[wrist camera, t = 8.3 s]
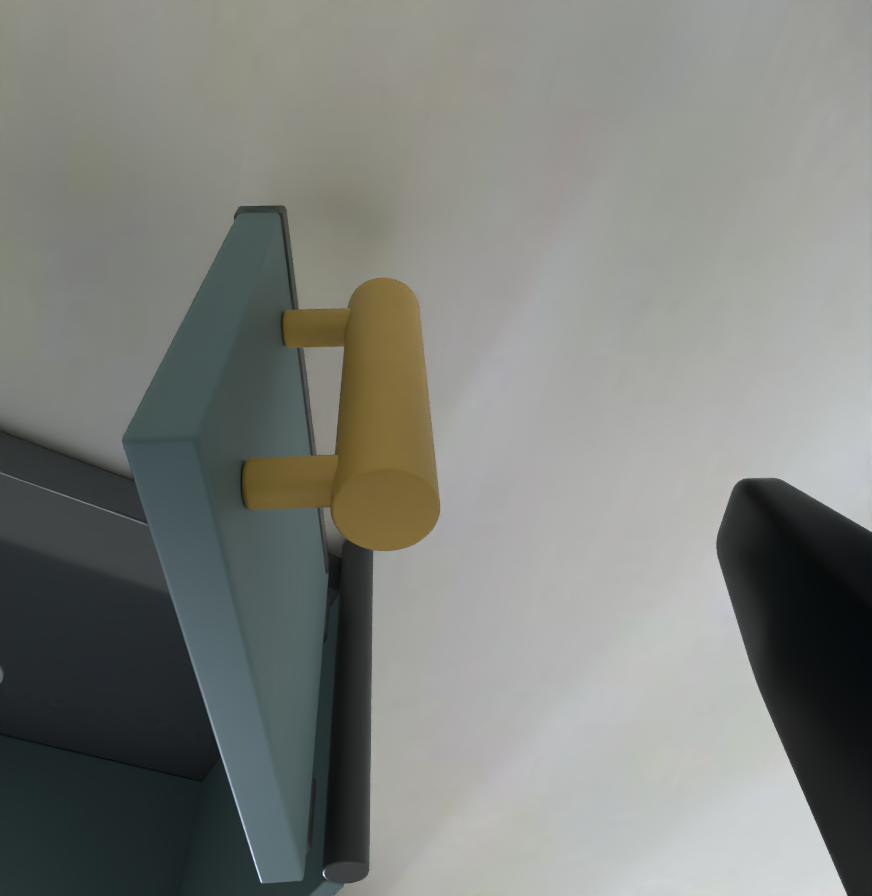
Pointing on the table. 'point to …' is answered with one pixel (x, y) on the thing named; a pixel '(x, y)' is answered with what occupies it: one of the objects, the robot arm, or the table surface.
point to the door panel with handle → (276, 502)
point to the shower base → (93, 621)
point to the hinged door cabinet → (195, 797)
